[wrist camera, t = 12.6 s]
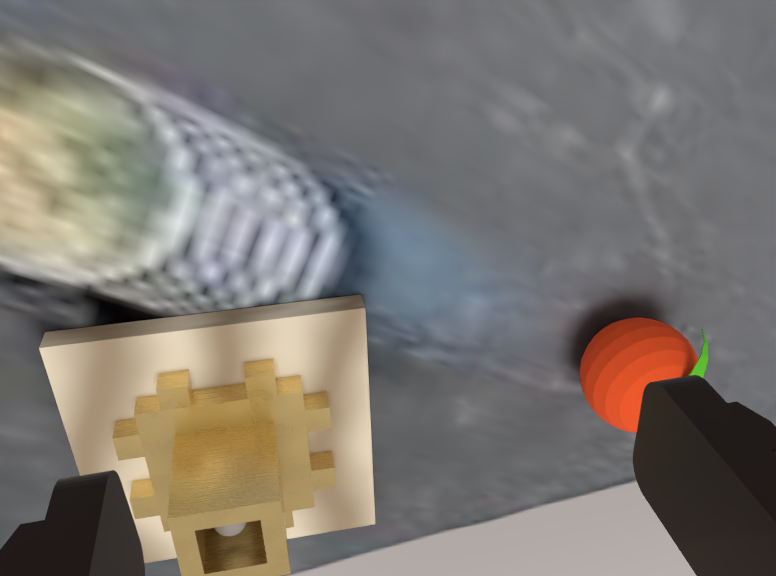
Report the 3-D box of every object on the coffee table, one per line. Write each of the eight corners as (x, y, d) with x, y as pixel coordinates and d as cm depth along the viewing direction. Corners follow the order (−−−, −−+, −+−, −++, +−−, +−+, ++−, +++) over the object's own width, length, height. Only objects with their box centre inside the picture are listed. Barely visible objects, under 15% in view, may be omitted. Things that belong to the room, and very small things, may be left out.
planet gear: (323, 351, 41) (341, 441, 35) (335, 501, 47) (353, 601, 41) (104, 380, 39) (81, 480, 33) (146, 532, 45) (134, 642, 39)
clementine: (626, 264, 44) (690, 328, 38) (696, 313, 47) (765, 379, 41) (540, 360, 46) (587, 434, 40) (611, 401, 49) (665, 475, 43)
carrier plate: (361, 294, 41) (387, 377, 35) (371, 507, 50) (394, 606, 43) (45, 332, 39) (7, 430, 32) (113, 550, 47) (95, 663, 41)
